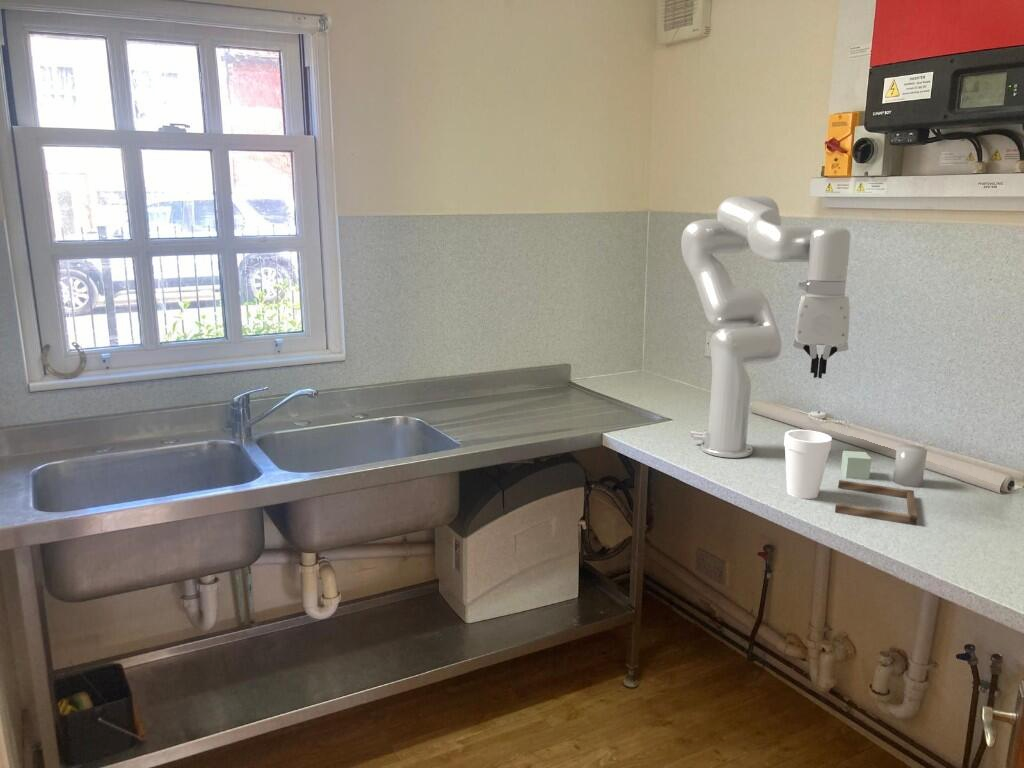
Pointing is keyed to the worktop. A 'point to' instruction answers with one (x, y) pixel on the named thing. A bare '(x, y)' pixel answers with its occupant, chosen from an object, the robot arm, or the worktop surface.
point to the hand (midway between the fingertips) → (817, 376)
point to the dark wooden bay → (879, 514)
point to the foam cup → (805, 461)
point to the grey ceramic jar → (909, 465)
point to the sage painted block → (855, 465)
